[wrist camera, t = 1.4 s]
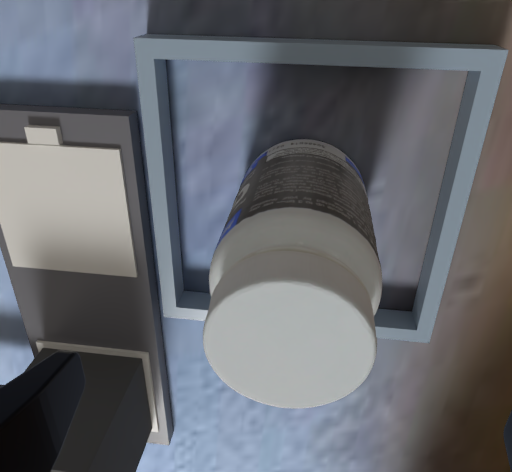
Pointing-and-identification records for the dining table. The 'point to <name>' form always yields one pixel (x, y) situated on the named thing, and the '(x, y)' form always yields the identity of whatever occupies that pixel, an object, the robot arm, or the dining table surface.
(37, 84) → the dining table surface
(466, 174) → the grey square frame
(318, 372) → the pill bottle
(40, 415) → the robot arm
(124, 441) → the grey block with peg
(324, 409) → the dining table surface
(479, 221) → the dining table surface
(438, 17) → the dining table surface
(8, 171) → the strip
